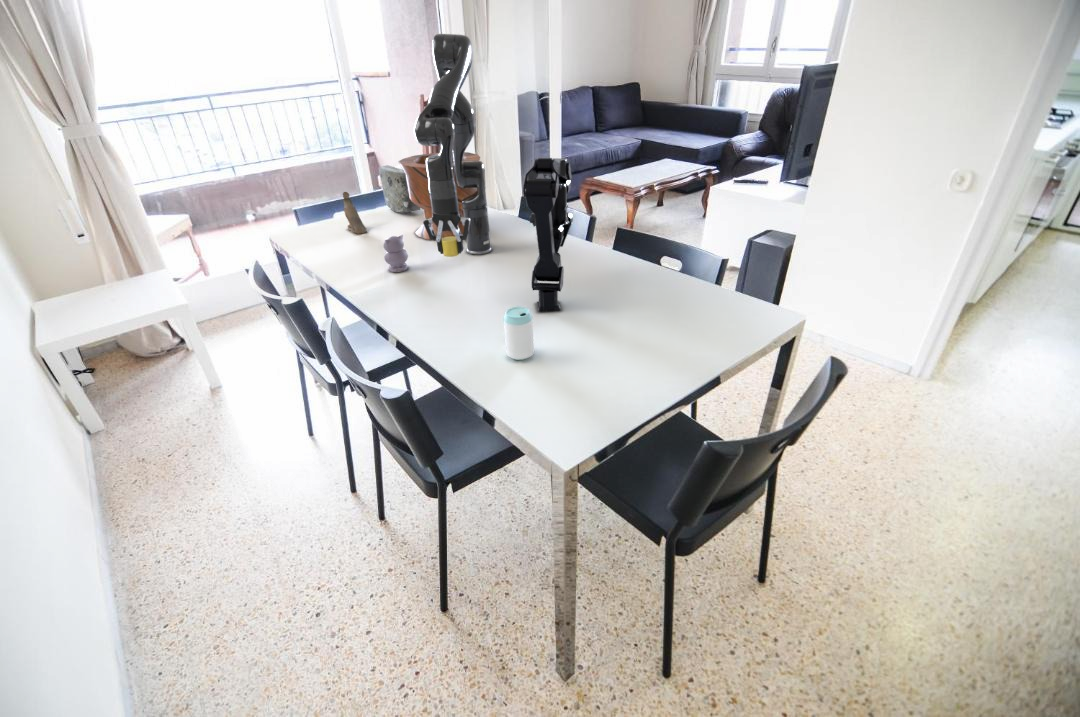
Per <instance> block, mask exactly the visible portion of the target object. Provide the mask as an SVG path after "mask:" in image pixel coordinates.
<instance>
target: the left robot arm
mask: <svg viewBox="0 0 1080 717" xmlns="http://www.w3.org/2000/svg"><path fill="white" fill-rule="evenodd" d="M431 50H432V57H433V64H434V66H435V71H436V75H437V79H438V80H437V81H436V82H435V83H434V85H433V87H432V88H431V91H430V94H429V98H428V102H427V104H426V105H425V107H424V108H423V109H422V111H421V112H420V113H419V114H418V116H417V118H416V120H415V123H414V127H413V134H414V137H415V141H416V142H417V143H418V144H420V145H421V146H423V147H441V149H440V152H439V153H440V154H436V155H432V156H429V157H428V158H427V160H426V166H427V172H428V179H429V195H430V199H431V206H432V213H433V216H432V218H429V219H428V218H426V219H425V218H424V220H423V222H422V225H423V224H424V226H425V228H426V231H427V233H428V235H429V238H430V241H435V242H436V246H437V251H438V252H439V253H440V255H444V254H443V247H442V235H443V231H452V232H453V234H454V235H455V237H456V239H457V248H458V254H459V255H460V254H462V252H464V240H466V251H467V253H468V254H470V255H476V256H477V255H485V254H488V253H490V252H491V251H492V246H491V245H492V244H491V233H490V223H489V211H488V201H487V190H486V189H487V188H486V169H485V164H484V163H483V161H481V160H479V161H462V159H463V155H464V152H466V150H467V148H468V146H469V145H470V143H471V141H472V140H473V138H474V135H475V133H476V122H475V121H476V119H475V113H474V112H475V111H474V109H473V107H472V105H471V103H470V101H469V100H468V98H467V97H466V95H464V93H463V92H462V91H461V89H462V87H463V86H464V83H465V82H466V79H467V77H468V75H469V74H470V73H469V72H470V70H471V68H472V64H473V58H474V54H473V53H474V52H473V44H472V40H471V39H470V37H469V36H467V35H464V34H459V33H458V34H456V33H437V34H434V36H433V37H432V42H431ZM452 156H453V165H454V174H455V180H456V183H457V186H458V187H459V188H477V191H476V192H475V193H474V194H472V195H470V196H468V197H466V198H464V199H463V200H462V207H463V215H464V218H463V217H461V215H460V214H459V208H458V200H457V191H456V184H455V181H454V174H453V166H452ZM460 221H461V222H462V225H463V226H464V232H463V235H461V232H460V229H459V227H458V224H459V222H460ZM432 222H434V223H435V225H436V226H437V227H438V230H437V235H435V233H434V230H433V228H432V224H433V223H432Z"/></svg>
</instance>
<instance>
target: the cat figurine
mask: <svg viewBox="0 0 1080 717" xmlns="http://www.w3.org/2000/svg"><path fill="white" fill-rule="evenodd" d="M403 238H404V234H401V235H398V236H396V235H391V236H388V237H387V238H385V239H384V241H383V245H382V246H383V249H384V251H385V253H384V257H383V258H384V261H385V262H386V264H388V269H389V272H391V273H402V272H404V271H407V270H408V264H407V263H406V262H407V260H408V258H409V254H408V251H407V250H406V249H404V247H405V246H404V245H405V244H404V241H403Z"/></svg>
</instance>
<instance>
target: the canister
mask: <svg viewBox="0 0 1080 717" xmlns="http://www.w3.org/2000/svg"><path fill="white" fill-rule="evenodd" d="M442 247H443V254H442V255H443V256H444V257H447V258H454V257H457V256H459V255H460V254H458V248H457V239H456V237H453V236H449V237H444V238H442Z"/></svg>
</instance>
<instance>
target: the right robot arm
mask: <svg viewBox="0 0 1080 717" xmlns="http://www.w3.org/2000/svg"><path fill="white" fill-rule="evenodd" d="M539 175H543V178H538V177H539ZM572 176H573V175H572V168H571V162H569V160H568V158H567V157H562V158H555V157H554V158H553V157H538V158H535V160H534V165H533V166H532V167H531V168H530V169H529V170H528V171H527V172H526V174H525V177H524V181H523V187H522V193H523V197H524V198H525V201H526V202H525V203H526V207H527V208H528V209H529V210H530V211H531V212H532V213H531V215H530V216H529V224H532V227H535V230H536V241H537V247H538V248H537V250H538V255H537V258H536V262H535V265H534V267H533V269H532V272H531V289H532V291H538V301H536V306H537V310H538V313H545V312H558V311H561V306H560V302H559V292H560V293H561V292H562V289H563V287H564V273H565V272H564V271H565V270H564V266H563V265H562V259H561V254H560V253H559V251H560V248H562V247H564V244H565V242H566V239H567V236H568V234H569V232H570V229H571V227H572V224H573V221H574V219H573V218H574V216H573V214H572V213H571V212H568V208H569V203H568V202H567V201H568V200H567V198H568V197H567V195H568V194H569V192H570V191H571V188H572V181H571V180H572V179H573V178H572Z"/></svg>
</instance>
